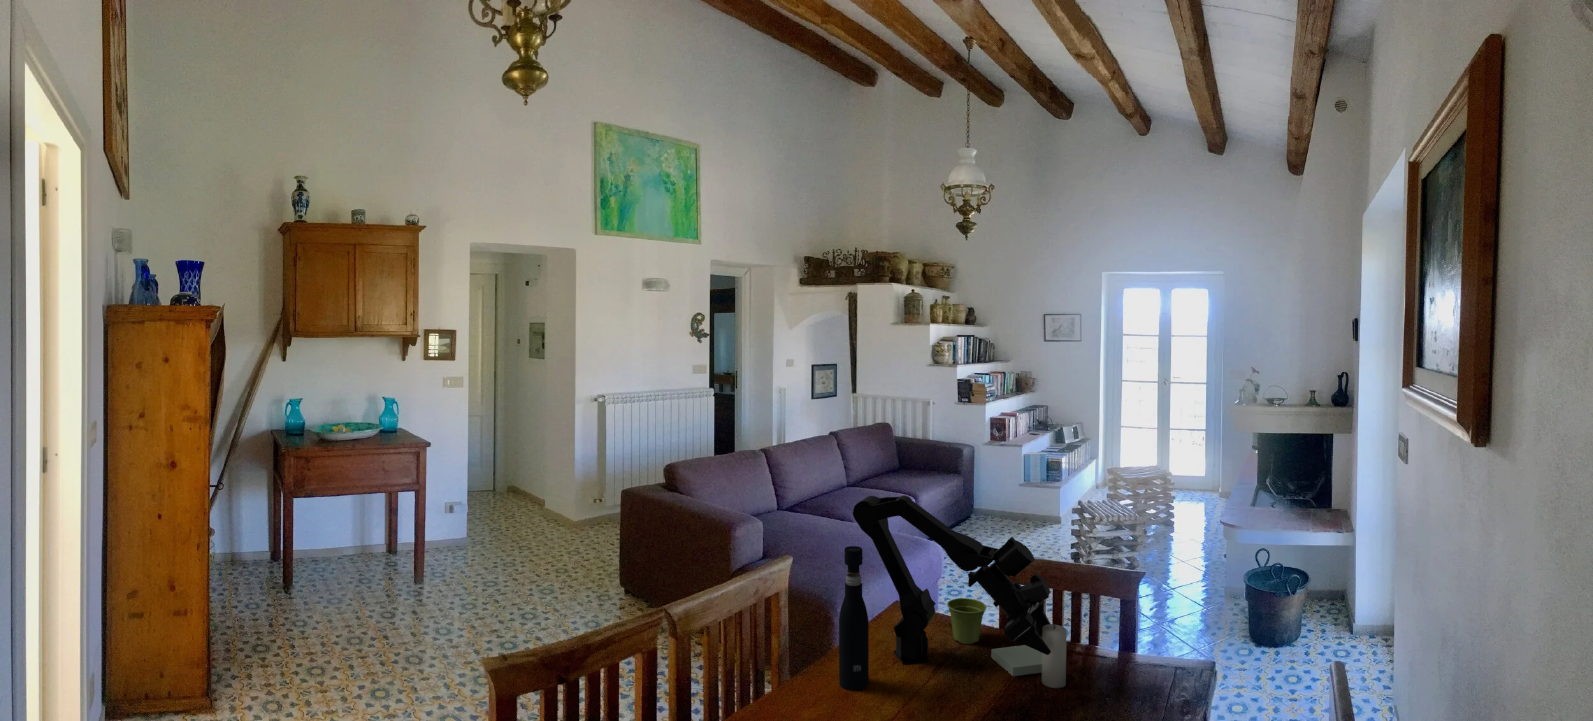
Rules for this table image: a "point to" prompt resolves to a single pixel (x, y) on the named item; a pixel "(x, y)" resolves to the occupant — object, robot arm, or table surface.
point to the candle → (1054, 656)
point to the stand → (1018, 659)
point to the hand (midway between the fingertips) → (1052, 645)
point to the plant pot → (966, 619)
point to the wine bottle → (853, 627)
